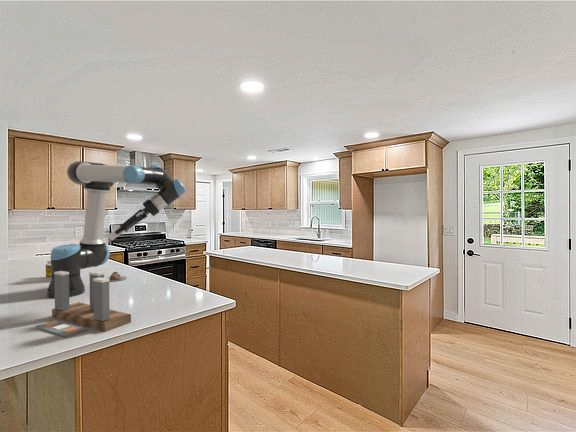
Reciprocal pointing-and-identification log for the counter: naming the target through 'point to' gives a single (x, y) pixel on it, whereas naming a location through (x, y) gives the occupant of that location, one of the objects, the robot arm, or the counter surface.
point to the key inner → (61, 290)
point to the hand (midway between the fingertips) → (109, 238)
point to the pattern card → (61, 328)
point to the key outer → (101, 299)
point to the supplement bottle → (48, 269)
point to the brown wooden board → (91, 317)
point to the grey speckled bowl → (116, 277)
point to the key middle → (92, 275)
